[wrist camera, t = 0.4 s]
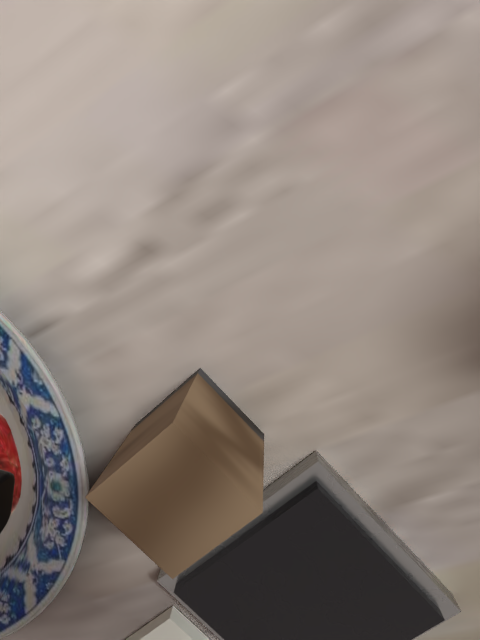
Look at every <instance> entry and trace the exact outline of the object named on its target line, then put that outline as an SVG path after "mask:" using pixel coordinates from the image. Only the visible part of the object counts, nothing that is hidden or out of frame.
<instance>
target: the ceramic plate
mask: <svg viewBox="0 0 480 640" xmlns="http://www.w3.org/2000/svg"><path fill="white" fill-rule="evenodd" d="M0 469H1V470H4V471H8V472H11V473H12V474H13V475H14V477H15V485H14V493H13V502H12V510H11V515H10V518H9V520H8V522H7V524H6V526H5V528H4V529H3V531H2V532H1V534H0V639H2V638H4V637H6V636H8V635H10V634H12V633H14V632H16V631H17V630H19V629H20V628H22V627H23V626H25V625H27V624H28V623H29V622H30V621H32V620H33V619H34V618H35V617H37V616H38V615H39V614H40V613H41V612H42V611H43V610H44V609H45V608H46V607H47V606H48V605H49V604H50V603H51V602H52V601H53V600H54V598H55V597H56V596H57V594H58V593H59V592H60V590H61V589H62V588H63V586H64V585H65V583H66V581H67V579H68V578H69V576H70V574H71V572H72V570H73V568H74V566H75V563H76V561H77V558H78V556H79V554H80V551H81V547H82V544H83V540H84V537H85V533H86V526H87V520H88V511H89V501H88V500H87V499H86V498H85V497H86V495H87V494H88V492H89V480H88V473H87V467H86V461H85V454H84V449H83V446H82V442H81V439H80V435H79V431H78V428H77V426H76V423H75V420H74V418H73V415H72V413H71V410H70V408H69V405H68V403H67V401H66V399H65V397H64V395H63V393H62V391H61V389H60V387H59V385H58V384H57V382H56V380H55V379H54V377H53V375H52V374H51V372H50V370H49V369H48V367H47V366H46V364H45V362H44V361H43V360H42V358H41V357H40V356H39V354H38V353H37V352H36V350H35V349H34V348H33V346H32V345H31V344H30V342H29V341H28V340H27V339H26V338H25V336H24V335H23V334H22V333H21V332H20V331H19V330H18V328H17V327H16V326H15V325H14V324H13V323H12V322H11V321H10V320H9V319H8V318H7V317H6V316H5V315H4V314H3V313H2V312H1V311H0Z"/></svg>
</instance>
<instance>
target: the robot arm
mask: <svg viewBox="0 0 480 640" xmlns="http://www.w3.org/2000/svg"><path fill="white" fill-rule="evenodd" d="M14 485H15V477H14V475H13V474H12V473H11V472H8V471H4V470H1V469H0V534H1V532H2V531H3V529H4V528H5V526H6V524H7V522H8V520H9V518H10V515H11V510H12V502H13V493H14Z"/></svg>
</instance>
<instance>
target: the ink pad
mask: <svg viewBox="0 0 480 640" xmlns="http://www.w3.org/2000/svg"><path fill="white" fill-rule="evenodd" d="M157 582H158V583H159V584H160V585H161V586H163V587H164V588H165V589H166V590H167V591H168V592H169V593H170V594H171V595H172V596H173V597H174V598H175V599H177V600H178V601H179V602H180V603H181V604H182V605H183V606H184V607H185V608H186V609H187V610H188V611H189V612H191V613H192V614H193V615H194V616H195V617H196V618H197V619H198V620H199V621H200V622H201V623H202V624H204V625H205V626H206V627H207V628H208V629H209V630H210V631H211V632H212V633H213V634H214V635H215V636H216V637H218V638H219V639H220V640H413V639H415V638H417V637H419V636H420V635H422V634H424V633H425V632H427V631H429V630H431V629H432V628H434V627H436V626H437V625H439V624H441V623H443V622H444V621H446V620H448V619H449V618H451V617H453V616H455V615H456V614H458V613H460V612H461V610H460V608H459V606H458V604H457V602H456V600H455V598H454V596H453V595H452V594H451V592H450V591H449V590H448V589H447V588H446V587H445V586H444V585H443V584H442V583H441V582H440V581H439V580H438V579H437V578H436V577H435V576H434V575H433V573H432V572H431V571H430V570H429V569H428V568H427V567H426V566H425V565H424V564H423V563H422V562H421V561H420V560H419V559H418V558H417V557H416V556H415V554H414V553H413V552H412V551H411V550H410V549H409V548H408V547H407V546H406V545H405V544H404V543H403V542H402V541H401V540H400V539H399V538H398V537H397V536H396V534H395V533H394V532H393V531H392V530H391V529H390V528H389V527H388V526H387V525H386V524H385V523H384V522H383V521H382V520H381V519H380V518H379V517H378V515H377V514H376V513H375V512H374V511H373V510H372V509H371V508H370V507H369V506H368V505H367V504H366V503H365V502H364V501H363V500H362V499H361V498H360V496H359V495H358V494H357V493H356V492H355V491H354V490H353V489H352V488H351V487H350V486H349V485H348V484H347V483H346V482H345V481H344V480H343V479H342V477H341V476H340V475H339V474H338V473H337V472H336V471H335V470H334V469H333V468H332V467H331V466H330V465H329V464H328V463H327V462H326V461H325V460H324V458H323V457H322V456H321V455H320V454H319V453H318V452H317V451H315V452H313V453H312V454H311V455H309V456H308V457H307V458H305V459H304V460H303V461H301V462H300V463H299V464H297V465H296V466H295V467H293V468H292V469H291V470H289V471H288V472H287V473H285V474H284V475H283V476H281V477H280V478H279V479H277V480H276V481H275V482H273V483H272V484H271V485H269V486H268V487H267V488H265V489H264V490H263V513H262V514H260V515H259V516H258V517H256V518H255V519H253V520H252V521H251V522H249V523H248V524H247V525H245V526H244V527H243V528H241V529H240V530H239V531H237V532H236V533H234V534H233V535H232V536H230V537H229V538H228V539H226V540H225V541H224V542H222V543H221V544H220V545H218V546H217V547H215V548H214V549H213V550H211V551H210V552H209V553H207V554H206V555H205V556H203V557H202V558H201V559H199V560H198V561H196V562H195V563H194V564H192V565H191V566H190V567H188V568H187V569H186V570H184V571H183V572H182V573H180V574H179V575H177V576H176V577H175V578H173V579H172V578H171V577H170V576H169V575H167V574H166V573H165V572H164V571H163V570H162V569H161V570H160V573H159V576H158V579H157Z"/></svg>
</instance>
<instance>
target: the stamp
mask: <svg viewBox="0 0 480 640" xmlns="http://www.w3.org/2000/svg"><path fill="white" fill-rule="evenodd" d="M263 466H264V434H263V433H262V432H261V431H260V429H259V428H258V427H257V426H256V425H255V424H254V423H253V422H252V421H251V420H250V419H249V418H248V417H247V416H246V415H245V414H244V413H243V412H242V411H241V410H240V409H239V408H238V407H237V406H236V405H235V404H234V402H233V401H232V400H231V399H230V398H229V397H228V396H227V395H226V394H225V393H224V392H223V391H222V390H221V389H220V388H219V387H218V386H217V385H216V384H215V383H214V382H213V381H212V380H211V379H210V378H209V377H208V375H207V374H206V373H205V372H204V371H203V370H202V369H201V368H200V369H199V370H197V371H196V372H195V373H194V374H193V375H192V376H191V377H189V378H188V379H187V380H186V381H185V382H184V383H183V384H181V385H180V386H179V387H178V388H177V389H176V390H175V391H173V392H172V393H171V394H170V395H169V396H168V397H167V398H166V399H164V400H163V401H162V402H161V403H160V404H159V405H158V406H156V407H155V408H154V409H153V410H152V411H151V412H150V413H148V414H147V415H146V416H145V417H144V418H143V419H142V420H140V421H139V422H138V423H137V424H136V425H135V426H134V428H133V429H132V431H131V432H130V434H129V435H128V436H127V438H126V439H125V441H124V442H123V444H122V445H121V446H120V448H119V449H118V451H117V452H116V454H115V455H114V456H113V458H112V459H111V461H110V462H109V464H108V465H107V467H106V468H105V469H104V471H103V472H102V474H101V475H100V477H99V478H98V479H97V481H96V482H95V484H94V485H93V487H92V488H91V490H90V491H89V492H88V494H87V495H86V497H85V498H86V499H87V500H88V501H89V502H90V503H91V504H92V505H94V506H95V507H96V508H97V509H98V510H99V511H100V512H101V513H102V514H103V515H104V516H105V517H106V518H107V519H109V520H110V521H111V522H112V523H113V524H114V525H115V526H116V527H117V528H118V529H119V530H120V531H121V532H122V533H124V534H125V535H126V536H127V537H128V538H129V539H130V540H131V541H132V542H133V543H134V544H135V545H136V546H137V547H139V548H140V549H141V550H142V551H143V552H144V553H145V554H146V555H147V556H148V557H149V558H150V559H151V560H152V561H154V562H155V563H156V564H157V565H158V566H159V567H160V568H161V569H162V570H163V571H164V572H165V573H166V574H167V575H169V576H170V577H171V578H172V579H173V578H175V577H176V576H177V575H179V574H180V573H182V572H183V571H184V570H186V569H187V568H188V567H190V566H191V565H192V564H194V563H195V562H196V561H198V560H199V559H201V558H202V557H203V556H205V555H206V554H207V553H209V552H210V551H211V550H213V549H214V548H215V547H217V546H218V545H220V544H221V543H222V542H224V541H225V540H226V539H228V538H229V537H230V536H232V535H233V534H234V533H236V532H237V531H239V530H240V529H241V528H243V527H244V526H245V525H247V524H248V523H249V522H251V521H252V520H253V519H255V518H256V517H258V516H259V515H260V514H262V513H263Z"/></svg>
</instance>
